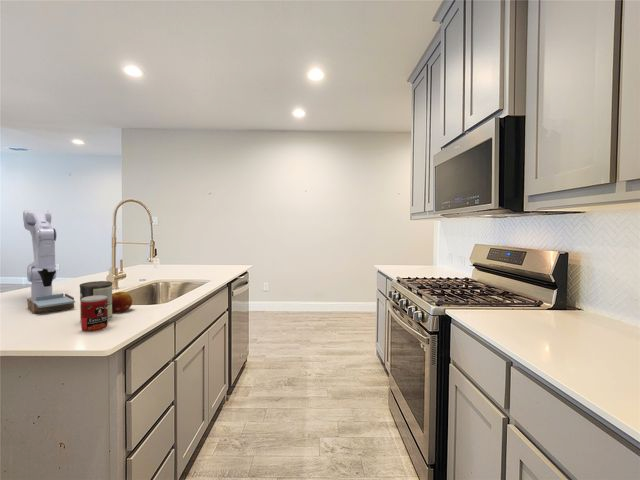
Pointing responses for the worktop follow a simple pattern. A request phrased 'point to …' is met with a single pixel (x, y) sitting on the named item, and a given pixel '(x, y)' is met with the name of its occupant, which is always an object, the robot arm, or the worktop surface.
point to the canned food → (94, 313)
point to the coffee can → (97, 292)
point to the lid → (52, 300)
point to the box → (37, 310)
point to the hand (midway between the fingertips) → (47, 286)
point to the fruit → (121, 301)
